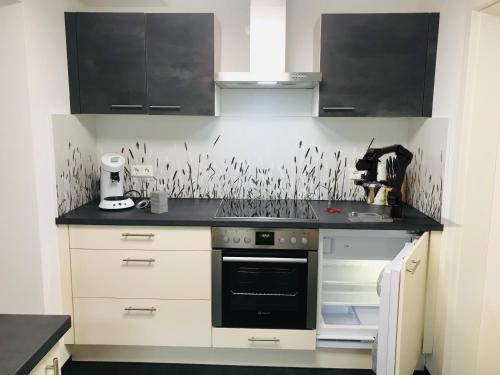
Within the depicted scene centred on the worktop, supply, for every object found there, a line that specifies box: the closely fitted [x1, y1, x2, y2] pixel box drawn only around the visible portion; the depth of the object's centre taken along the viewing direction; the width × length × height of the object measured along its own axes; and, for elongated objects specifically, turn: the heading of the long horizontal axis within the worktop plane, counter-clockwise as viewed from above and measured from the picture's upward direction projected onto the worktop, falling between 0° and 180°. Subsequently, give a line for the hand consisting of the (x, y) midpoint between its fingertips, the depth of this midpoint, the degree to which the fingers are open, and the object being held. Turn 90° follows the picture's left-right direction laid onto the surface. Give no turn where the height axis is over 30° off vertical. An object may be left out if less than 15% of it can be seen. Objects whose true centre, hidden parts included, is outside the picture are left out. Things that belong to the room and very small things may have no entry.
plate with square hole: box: [347, 211, 394, 223], centre depth 232 cm, size 23×10×4 cm, turn 92°
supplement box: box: [150, 190, 169, 215], centre depth 246 cm, size 7×7×13 cm
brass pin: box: [366, 186, 376, 205], centre depth 230 cm, size 4×4×9 cm
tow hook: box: [324, 190, 341, 213], centre depth 255 cm, size 8×13×9 cm
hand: (370, 197), depth 230 cm, fingers closed on brass pin, 4 cm apart
